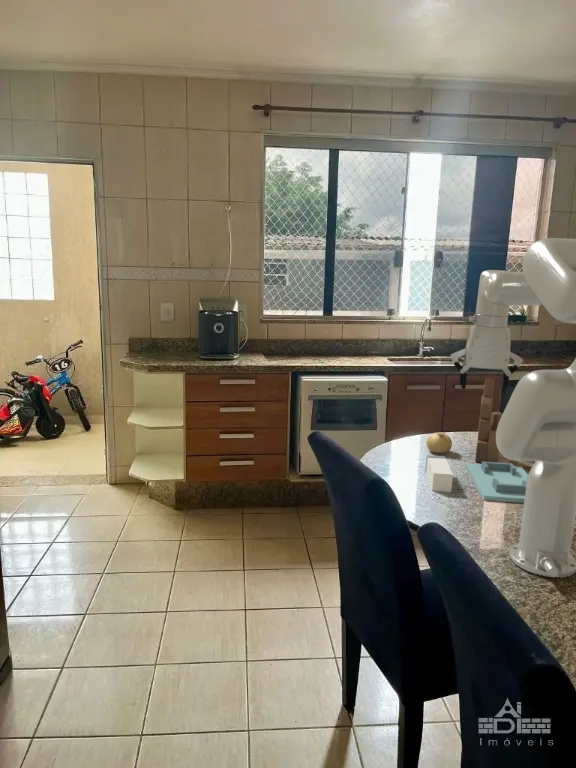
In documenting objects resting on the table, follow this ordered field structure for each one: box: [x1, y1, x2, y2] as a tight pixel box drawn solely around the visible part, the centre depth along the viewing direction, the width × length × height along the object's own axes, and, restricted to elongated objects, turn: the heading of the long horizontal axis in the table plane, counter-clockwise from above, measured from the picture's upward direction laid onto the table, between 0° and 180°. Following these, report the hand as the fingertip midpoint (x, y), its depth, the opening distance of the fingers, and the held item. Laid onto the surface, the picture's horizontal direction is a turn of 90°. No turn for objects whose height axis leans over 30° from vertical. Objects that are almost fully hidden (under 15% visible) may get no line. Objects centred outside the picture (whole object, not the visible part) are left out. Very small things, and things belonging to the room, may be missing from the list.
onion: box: [425, 431, 453, 455], centre depth 181 cm, size 8×8×7 cm
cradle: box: [465, 462, 529, 504], centre depth 156 cm, size 24×16×3 cm, turn 174°
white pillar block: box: [424, 454, 454, 493], centre depth 156 cm, size 14×5×5 cm, turn 174°
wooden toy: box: [475, 378, 503, 464], centre depth 177 cm, size 16×7×25 cm, turn 160°
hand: (482, 389), depth 143 cm, fingers open, 9 cm apart
